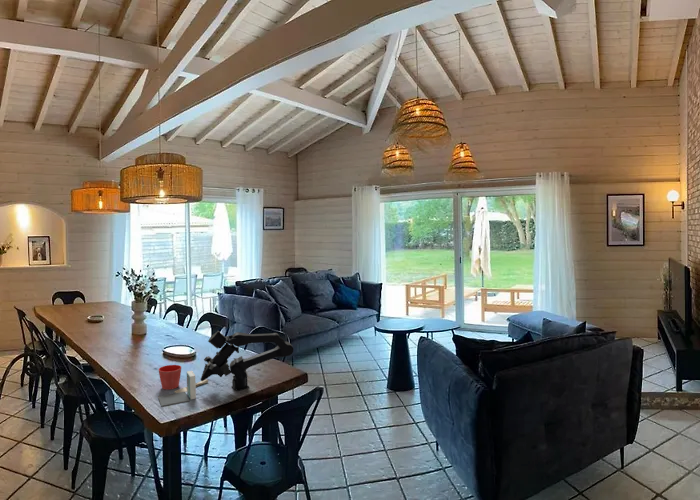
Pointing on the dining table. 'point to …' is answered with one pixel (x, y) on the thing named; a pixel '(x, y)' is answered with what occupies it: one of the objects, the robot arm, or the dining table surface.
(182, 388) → the spatula
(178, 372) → the flower pot
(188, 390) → the tile
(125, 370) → the dining table surface
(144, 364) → the dining table surface
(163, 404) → the mat
